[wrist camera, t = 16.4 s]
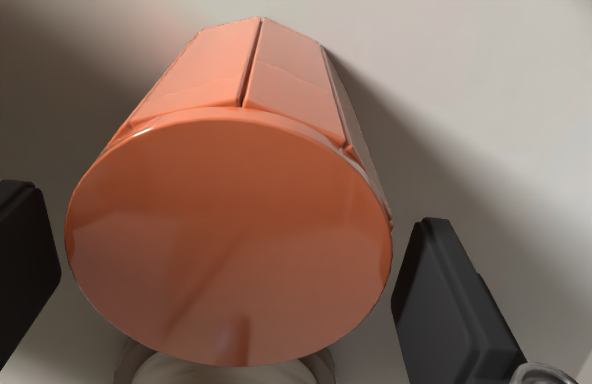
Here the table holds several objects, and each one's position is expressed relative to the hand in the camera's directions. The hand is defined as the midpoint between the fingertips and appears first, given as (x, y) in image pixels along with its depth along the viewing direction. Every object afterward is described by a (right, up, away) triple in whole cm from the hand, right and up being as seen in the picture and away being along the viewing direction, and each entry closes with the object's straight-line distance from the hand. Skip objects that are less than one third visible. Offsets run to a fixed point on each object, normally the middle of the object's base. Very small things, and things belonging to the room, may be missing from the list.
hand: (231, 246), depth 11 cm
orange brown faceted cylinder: (0, +5, +6) cm, 8 cm away
